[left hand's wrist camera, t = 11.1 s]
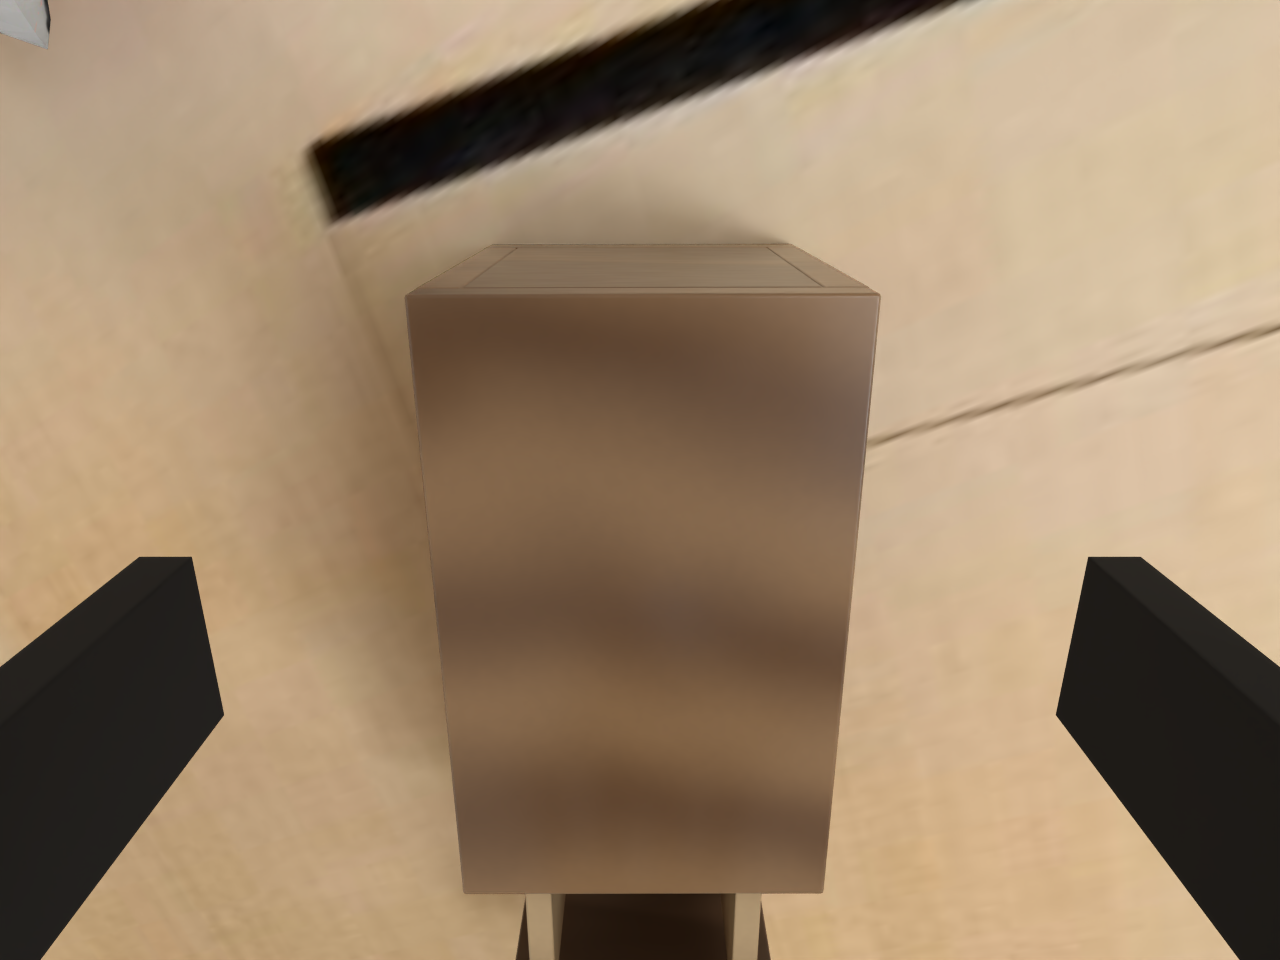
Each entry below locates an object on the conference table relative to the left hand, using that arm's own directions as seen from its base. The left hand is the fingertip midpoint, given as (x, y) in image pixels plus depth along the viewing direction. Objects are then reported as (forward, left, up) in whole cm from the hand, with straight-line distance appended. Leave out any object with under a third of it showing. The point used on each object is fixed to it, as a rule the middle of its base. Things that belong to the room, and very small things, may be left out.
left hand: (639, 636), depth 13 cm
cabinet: (+4, +2, -19) cm, 19 cm away
